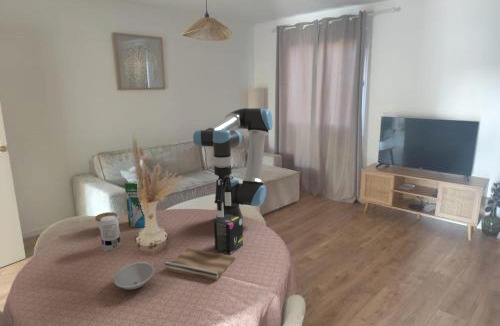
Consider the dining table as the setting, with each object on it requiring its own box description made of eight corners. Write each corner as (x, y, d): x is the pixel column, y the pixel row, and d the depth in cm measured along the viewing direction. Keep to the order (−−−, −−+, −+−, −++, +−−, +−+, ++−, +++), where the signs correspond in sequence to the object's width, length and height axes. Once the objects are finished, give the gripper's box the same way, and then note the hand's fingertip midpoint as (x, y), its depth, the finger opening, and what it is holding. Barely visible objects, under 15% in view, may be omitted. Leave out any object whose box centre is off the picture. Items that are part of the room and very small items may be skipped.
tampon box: (230, 255, 151) (229, 225, 147) (214, 250, 155) (213, 220, 152) (243, 245, 160) (243, 216, 156) (228, 241, 164) (227, 213, 161)
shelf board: (188, 250, 155) (187, 243, 155) (235, 259, 147) (235, 252, 146) (165, 269, 139) (164, 262, 138) (216, 280, 130) (216, 273, 130)
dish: (124, 273, 137) (123, 262, 136) (159, 272, 137) (158, 261, 136) (107, 300, 119) (106, 287, 118) (147, 299, 120) (146, 286, 119)
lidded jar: (103, 224, 186) (102, 209, 184) (121, 225, 184) (120, 209, 182) (92, 232, 175) (90, 216, 173) (111, 233, 174) (109, 217, 172)
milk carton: (151, 220, 190) (147, 178, 185) (144, 227, 182) (140, 183, 176) (136, 220, 191) (132, 178, 186) (128, 226, 183) (124, 183, 177)
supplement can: (98, 250, 157) (95, 220, 153) (111, 242, 164) (108, 214, 161) (112, 253, 154) (108, 222, 150) (124, 245, 161) (121, 216, 158)
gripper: (221, 158, 157) (223, 200, 162) (205, 172, 133) (208, 221, 139) (237, 159, 156) (238, 201, 161) (223, 173, 132) (225, 222, 137)
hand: (224, 211), depth 150 cm, fingers open, 13 cm apart
